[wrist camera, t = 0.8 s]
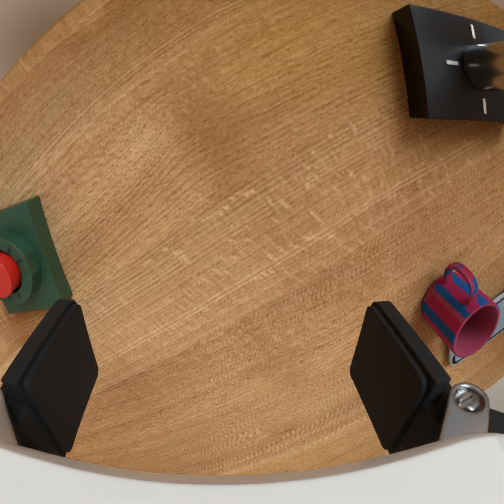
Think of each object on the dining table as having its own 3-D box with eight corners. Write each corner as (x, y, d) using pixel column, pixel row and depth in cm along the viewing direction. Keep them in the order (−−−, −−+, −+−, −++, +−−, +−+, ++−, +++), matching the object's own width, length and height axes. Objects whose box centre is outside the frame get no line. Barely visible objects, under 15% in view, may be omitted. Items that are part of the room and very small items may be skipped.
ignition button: (-13, 255, 21) (-23, 263, 19) (12, 248, 21) (1, 256, 19) (1, 290, 22) (-8, 300, 21) (26, 286, 22) (17, 296, 21)
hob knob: (466, 88, 19) (513, 89, 14) (458, 41, 18) (504, 33, 12) (496, 93, 20) (541, 96, 14) (490, 49, 18) (533, 46, 12)
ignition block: (-16, 216, 23) (-39, 229, 19) (39, 195, 23) (15, 207, 19) (17, 303, 27) (0, 323, 23) (73, 294, 27) (56, 317, 23)
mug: (421, 331, 33) (450, 367, 26) (418, 258, 29) (457, 290, 22) (463, 309, 32) (495, 340, 26) (465, 237, 28) (506, 263, 22)
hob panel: (409, 117, 23) (429, 118, 20) (391, 12, 19) (410, 3, 16) (505, 122, 24) (525, 125, 21) (493, 36, 20) (513, 33, 17)
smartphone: (521, 315, 34) (450, 368, 35) (518, 313, 35) (447, 364, 36) (526, 277, 31) (451, 332, 32) (522, 275, 32) (447, 328, 33)
